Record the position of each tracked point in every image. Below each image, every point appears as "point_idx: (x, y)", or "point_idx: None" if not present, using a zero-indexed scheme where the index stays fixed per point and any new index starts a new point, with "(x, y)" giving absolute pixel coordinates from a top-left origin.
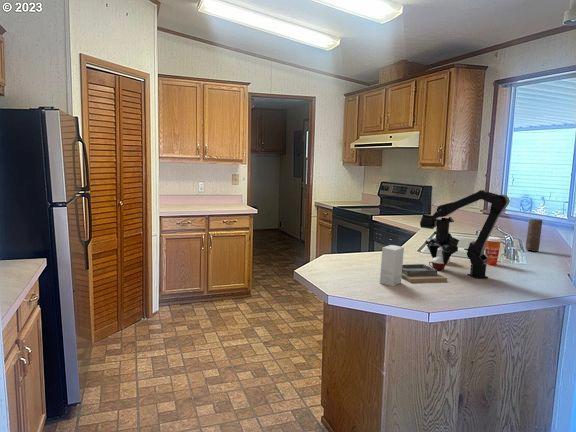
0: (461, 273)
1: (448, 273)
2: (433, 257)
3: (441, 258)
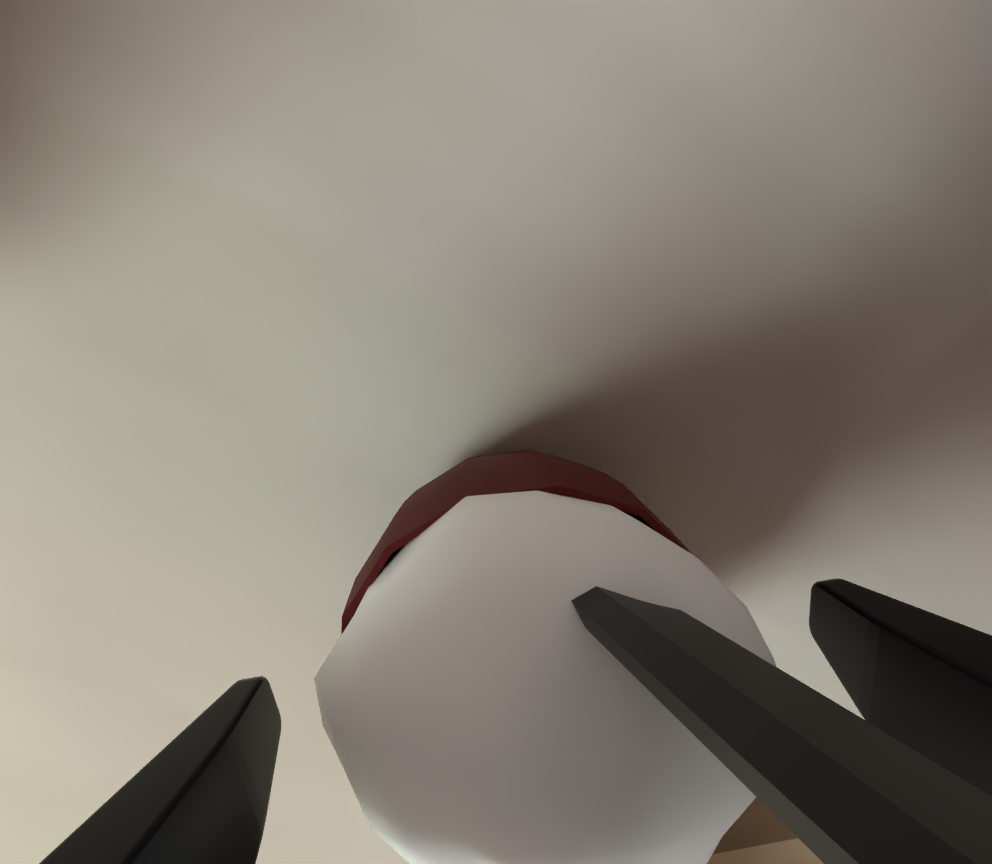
0: (892, 153)
1: (838, 476)
2: (260, 808)
3: (750, 791)
